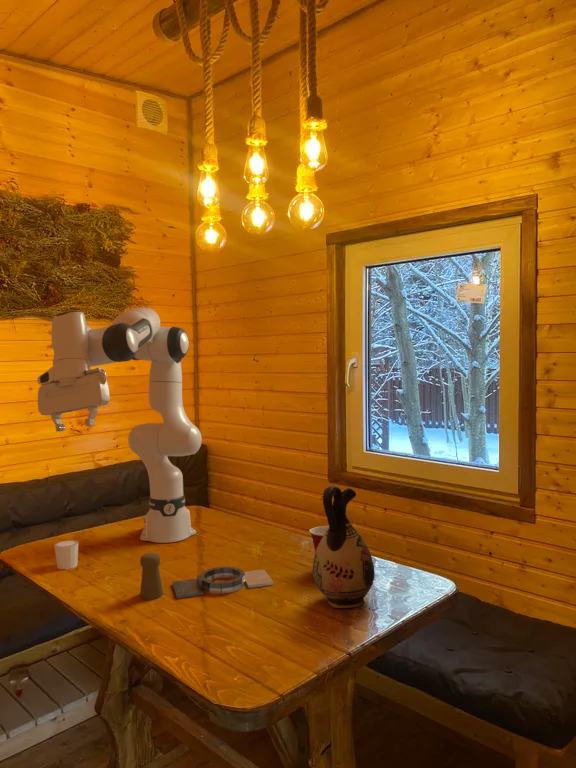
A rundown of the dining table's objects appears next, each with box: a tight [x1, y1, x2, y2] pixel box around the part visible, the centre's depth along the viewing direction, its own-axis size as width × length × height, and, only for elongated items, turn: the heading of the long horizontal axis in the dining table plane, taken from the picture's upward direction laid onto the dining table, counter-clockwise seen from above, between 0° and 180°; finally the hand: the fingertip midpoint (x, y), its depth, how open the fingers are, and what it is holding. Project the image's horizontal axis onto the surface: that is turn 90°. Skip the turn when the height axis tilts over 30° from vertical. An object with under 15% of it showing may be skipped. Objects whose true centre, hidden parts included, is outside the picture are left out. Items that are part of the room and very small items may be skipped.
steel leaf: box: [202, 569, 274, 595], centre depth 170 cm, size 12×19×1 cm, turn 108°
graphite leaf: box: [171, 566, 245, 600], centre depth 167 cm, size 12×19×3 cm, turn 108°
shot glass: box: [53, 539, 79, 570], centre depth 186 cm, size 7×7×7 cm
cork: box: [139, 552, 164, 601], centre depth 163 cm, size 6×6×11 cm
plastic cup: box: [308, 525, 329, 553], centre depth 177 cm, size 11×11×12 cm
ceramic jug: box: [312, 485, 376, 609], centre depth 154 cm, size 17×15×30 cm
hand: (75, 428), depth 153 cm, fingers open, 8 cm apart
